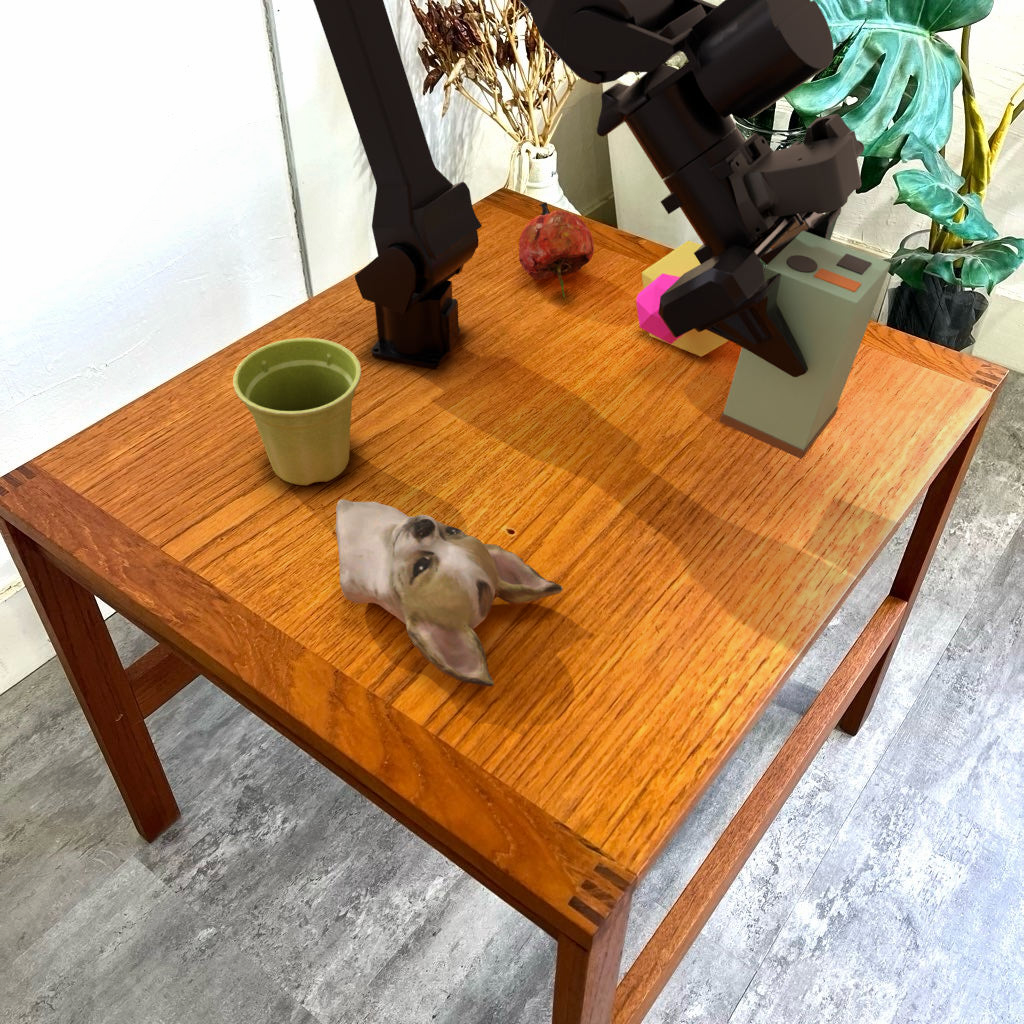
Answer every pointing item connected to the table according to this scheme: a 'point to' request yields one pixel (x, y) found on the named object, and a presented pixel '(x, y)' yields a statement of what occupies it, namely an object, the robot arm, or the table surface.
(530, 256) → the pomegranate
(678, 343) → the toy
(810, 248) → the shape sorter
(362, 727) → the table surface
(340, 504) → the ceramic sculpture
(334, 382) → the plant pot
